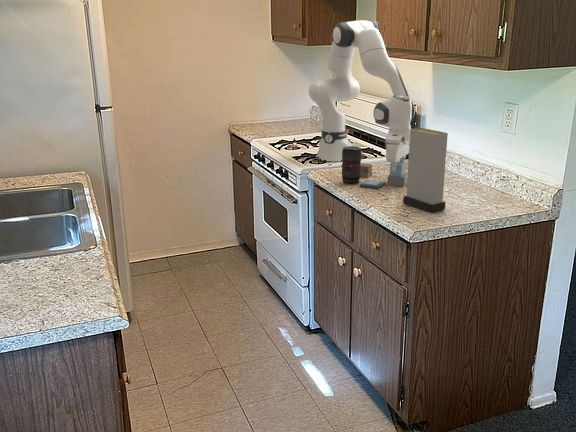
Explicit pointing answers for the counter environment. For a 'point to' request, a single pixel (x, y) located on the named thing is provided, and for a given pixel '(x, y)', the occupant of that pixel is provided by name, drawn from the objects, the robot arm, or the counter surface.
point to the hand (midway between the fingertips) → (397, 168)
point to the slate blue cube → (398, 169)
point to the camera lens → (351, 164)
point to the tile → (372, 184)
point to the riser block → (397, 180)
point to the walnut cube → (366, 170)
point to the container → (426, 169)
